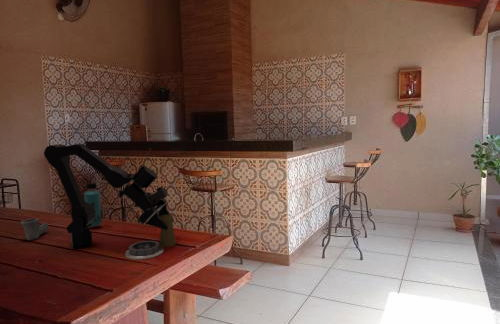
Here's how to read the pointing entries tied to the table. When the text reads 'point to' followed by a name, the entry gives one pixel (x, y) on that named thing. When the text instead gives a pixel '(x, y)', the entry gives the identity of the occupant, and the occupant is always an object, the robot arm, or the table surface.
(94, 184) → the beverage bottle
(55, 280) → the table surface
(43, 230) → the pipe
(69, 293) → the table surface
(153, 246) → the iron collar
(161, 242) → the cork
